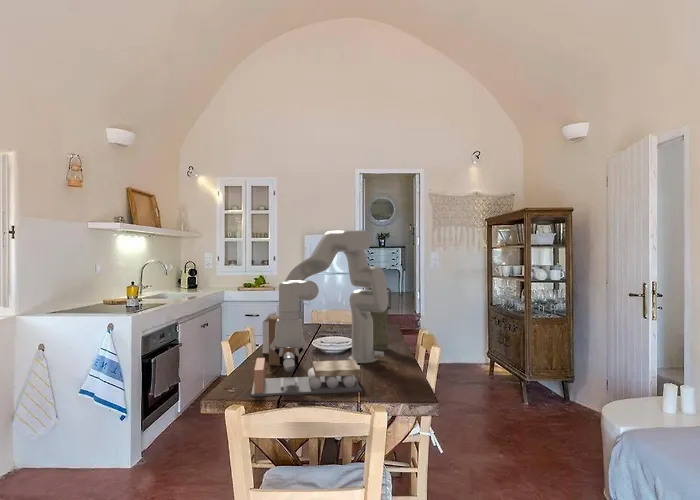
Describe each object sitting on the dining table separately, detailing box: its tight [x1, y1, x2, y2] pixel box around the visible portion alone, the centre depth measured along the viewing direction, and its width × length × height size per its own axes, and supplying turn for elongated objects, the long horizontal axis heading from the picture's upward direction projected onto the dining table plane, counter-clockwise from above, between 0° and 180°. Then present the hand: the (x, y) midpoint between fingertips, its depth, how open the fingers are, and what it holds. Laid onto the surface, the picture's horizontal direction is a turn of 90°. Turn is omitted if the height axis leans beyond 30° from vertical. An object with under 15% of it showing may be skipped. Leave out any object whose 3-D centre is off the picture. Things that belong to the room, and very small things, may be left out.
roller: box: [283, 352, 296, 373], centre depth 174 cm, size 4×14×4 cm, turn 8°
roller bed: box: [250, 357, 363, 397], centre depth 175 cm, size 38×19×9 cm, turn 98°
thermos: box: [367, 283, 392, 352], centre depth 238 cm, size 9×12×35 cm
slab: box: [312, 359, 361, 377], centre depth 176 cm, size 16×14×2 cm
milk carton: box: [262, 312, 279, 355], centre depth 230 cm, size 7×7×19 cm
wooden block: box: [268, 315, 295, 367], centre depth 209 cm, size 10×10×20 cm
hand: (288, 365), depth 174 cm, fingers closed on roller, 4 cm apart
